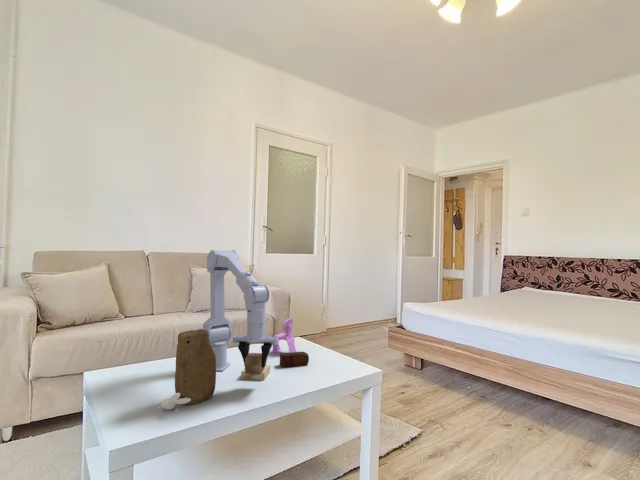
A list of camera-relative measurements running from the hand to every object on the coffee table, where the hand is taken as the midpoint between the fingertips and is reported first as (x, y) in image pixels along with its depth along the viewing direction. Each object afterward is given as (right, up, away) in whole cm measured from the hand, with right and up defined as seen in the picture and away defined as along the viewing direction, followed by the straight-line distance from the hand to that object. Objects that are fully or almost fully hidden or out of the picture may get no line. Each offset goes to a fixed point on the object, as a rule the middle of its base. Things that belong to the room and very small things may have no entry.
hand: (255, 366), depth 111 cm
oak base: (-2, -8, +11) cm, 14 cm away
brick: (+11, -8, +22) cm, 26 cm away
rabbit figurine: (-19, -7, -16) cm, 26 cm away
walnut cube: (0, -2, 0) cm, 2 cm away
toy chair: (+5, -8, +38) cm, 40 cm away
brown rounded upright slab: (-16, -7, -8) cm, 19 cm away
